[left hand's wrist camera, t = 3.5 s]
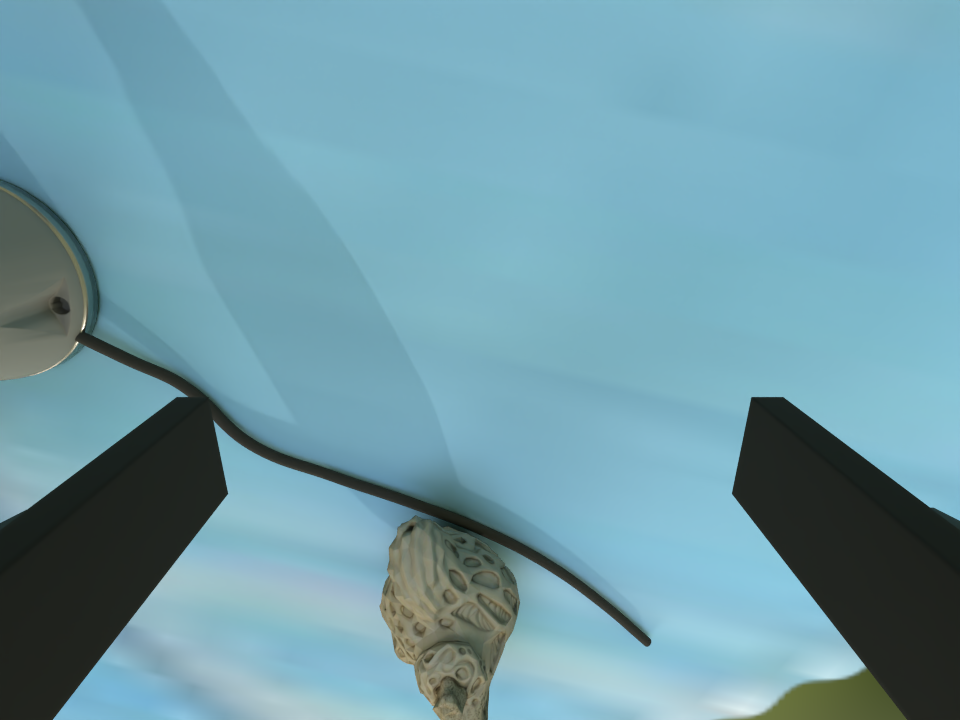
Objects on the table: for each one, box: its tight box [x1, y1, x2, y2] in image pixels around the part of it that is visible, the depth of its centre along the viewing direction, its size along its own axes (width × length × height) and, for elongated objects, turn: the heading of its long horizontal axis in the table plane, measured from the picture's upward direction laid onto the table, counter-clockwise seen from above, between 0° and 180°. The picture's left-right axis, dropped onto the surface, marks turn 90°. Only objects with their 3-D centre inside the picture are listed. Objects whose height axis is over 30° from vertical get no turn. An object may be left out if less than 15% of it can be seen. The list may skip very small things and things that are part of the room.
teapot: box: [380, 516, 520, 720], centre depth 42 cm, size 21×12×15 cm, turn 13°
